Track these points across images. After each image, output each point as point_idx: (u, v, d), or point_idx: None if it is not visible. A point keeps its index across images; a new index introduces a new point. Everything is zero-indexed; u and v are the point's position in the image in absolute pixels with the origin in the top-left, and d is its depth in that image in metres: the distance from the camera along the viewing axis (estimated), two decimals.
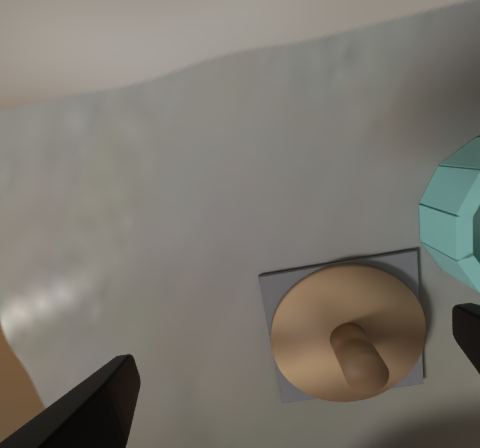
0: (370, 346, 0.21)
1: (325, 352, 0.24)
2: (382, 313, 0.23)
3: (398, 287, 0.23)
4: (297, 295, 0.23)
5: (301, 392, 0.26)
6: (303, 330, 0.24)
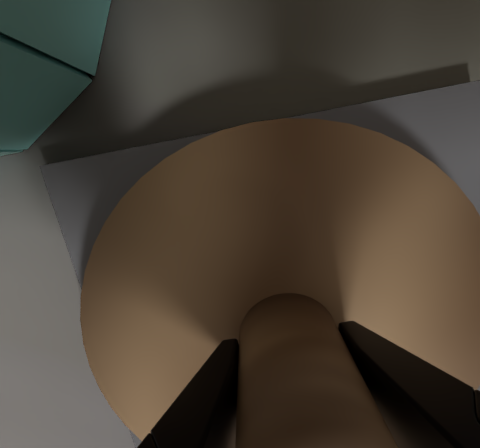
0: (242, 395, 0.06)
1: None
2: (208, 256, 0.08)
3: (126, 223, 0.08)
4: None
5: None
6: None
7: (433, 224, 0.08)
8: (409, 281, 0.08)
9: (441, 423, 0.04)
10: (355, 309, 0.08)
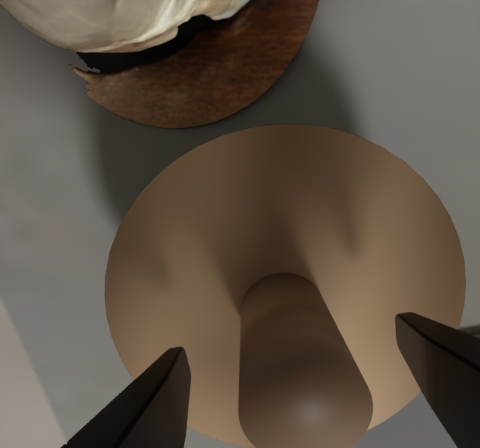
0: (244, 348, 0.07)
1: None
2: (215, 241, 0.10)
3: (145, 213, 0.09)
4: None
5: None
6: None
7: (405, 213, 0.09)
8: (385, 262, 0.10)
9: None
10: (340, 286, 0.10)
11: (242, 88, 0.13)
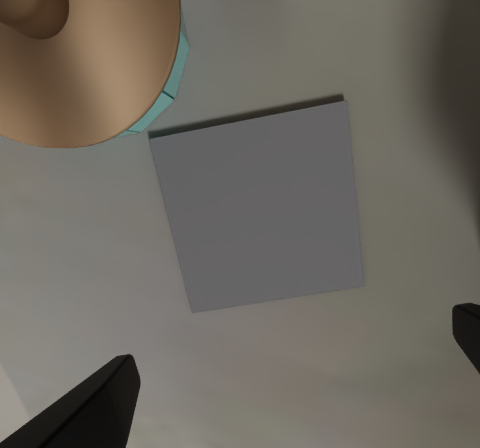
0: None
1: (71, 45, 0.13)
2: None
3: None
4: None
5: (349, 264, 0.20)
6: (33, 90, 0.14)
7: None
8: None
9: None
10: None
11: None
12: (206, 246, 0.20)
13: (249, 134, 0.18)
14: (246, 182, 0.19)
